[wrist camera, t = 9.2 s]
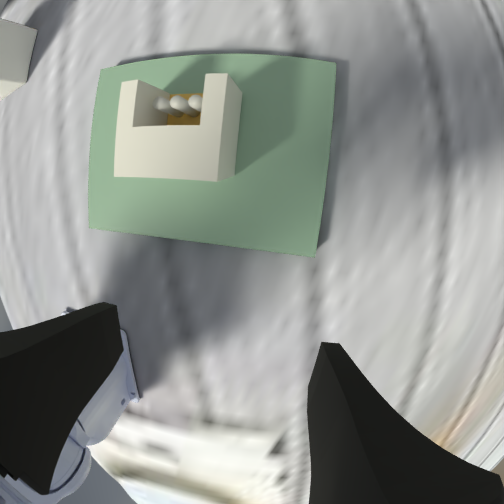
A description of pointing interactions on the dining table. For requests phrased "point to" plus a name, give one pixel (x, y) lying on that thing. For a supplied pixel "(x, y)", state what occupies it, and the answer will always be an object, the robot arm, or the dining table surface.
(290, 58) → the header board
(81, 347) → the robot arm
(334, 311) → the dining table surface
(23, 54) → the medicine bottle
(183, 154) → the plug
